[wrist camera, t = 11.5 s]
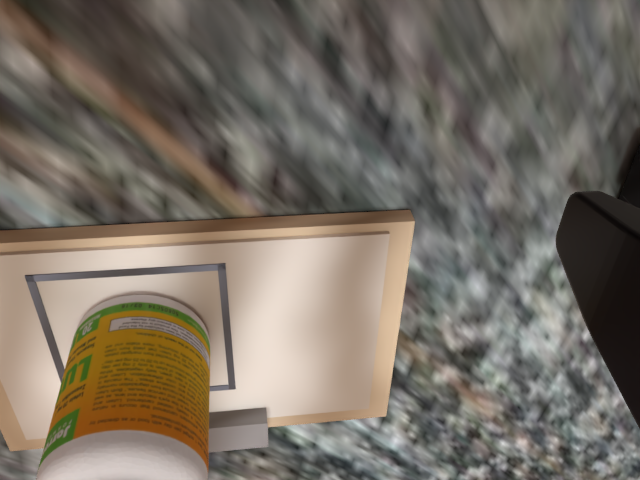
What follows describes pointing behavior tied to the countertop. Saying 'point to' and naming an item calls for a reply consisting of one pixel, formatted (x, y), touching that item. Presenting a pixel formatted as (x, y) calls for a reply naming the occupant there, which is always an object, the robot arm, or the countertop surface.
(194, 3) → the countertop surface
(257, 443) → the beige rectangular board
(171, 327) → the supplement bottle
